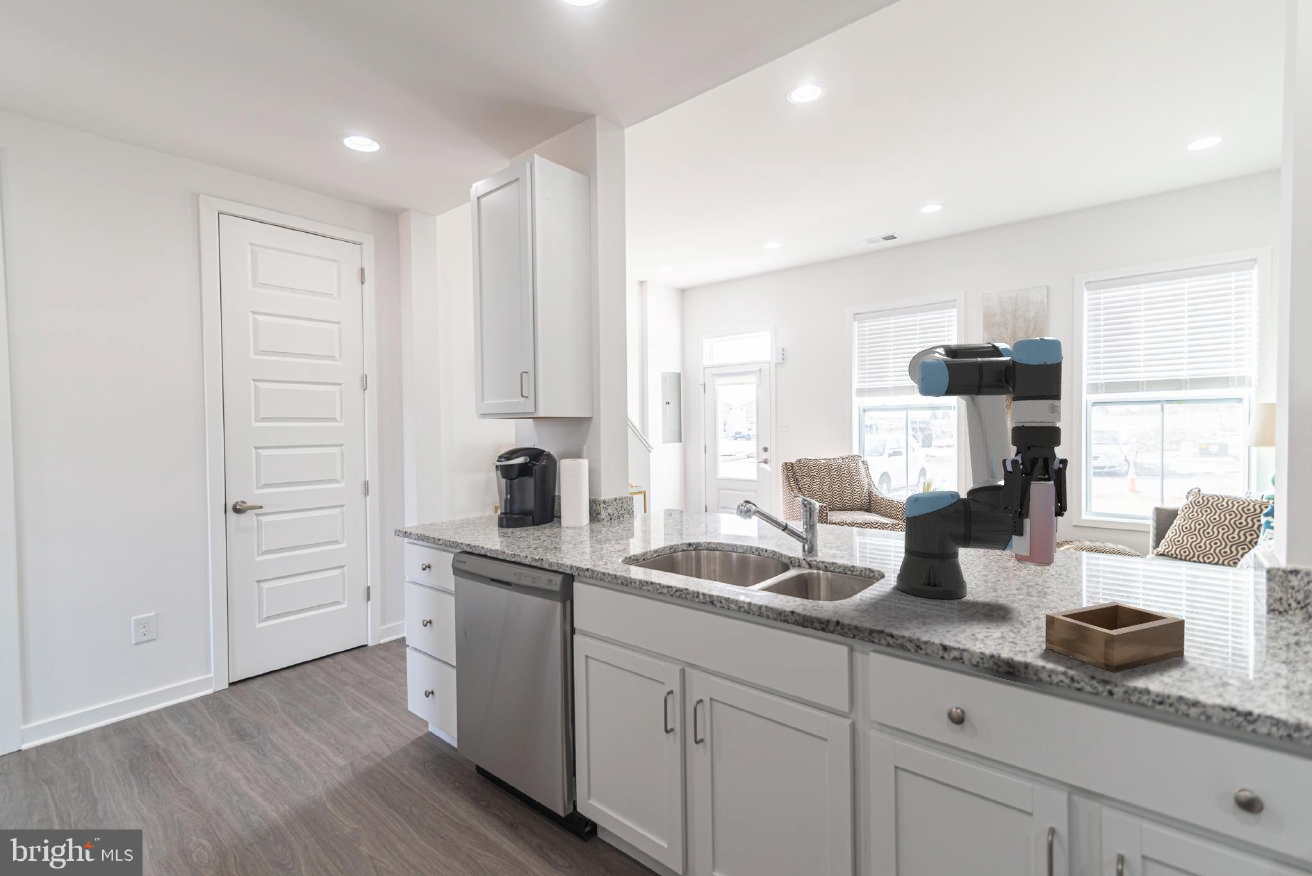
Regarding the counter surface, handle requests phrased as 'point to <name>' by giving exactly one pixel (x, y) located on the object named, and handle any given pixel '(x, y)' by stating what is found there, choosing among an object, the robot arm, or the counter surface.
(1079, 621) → the tray
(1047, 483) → the beverage can
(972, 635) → the counter surface
